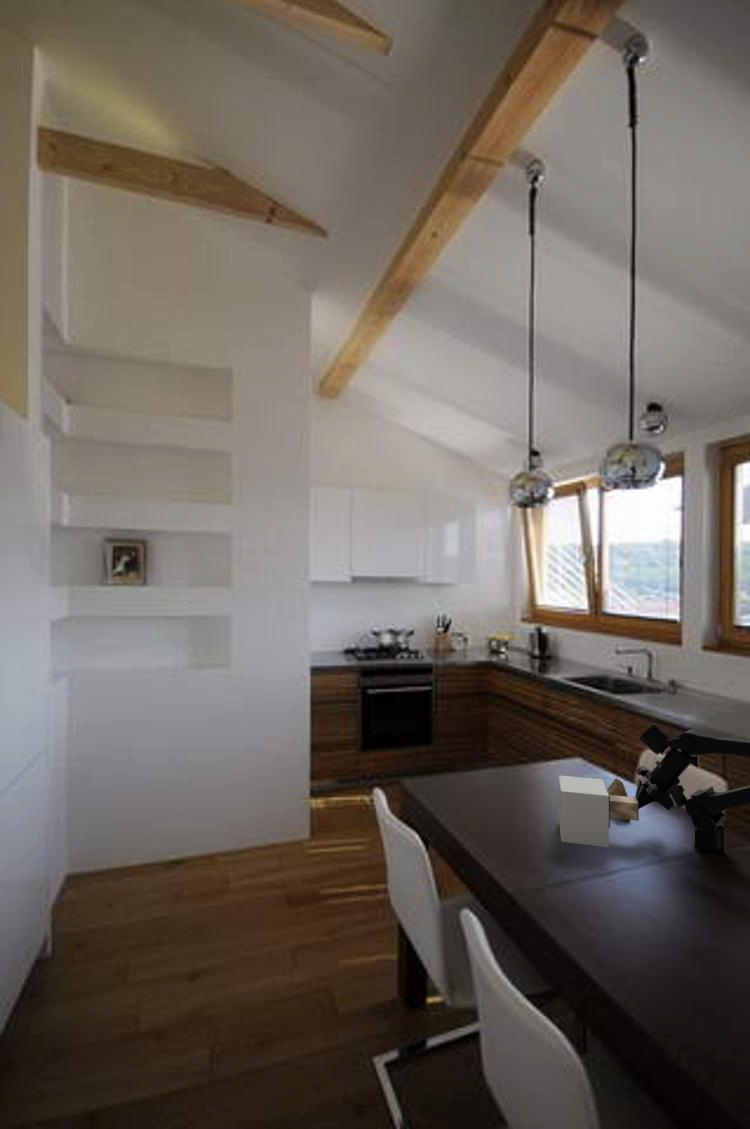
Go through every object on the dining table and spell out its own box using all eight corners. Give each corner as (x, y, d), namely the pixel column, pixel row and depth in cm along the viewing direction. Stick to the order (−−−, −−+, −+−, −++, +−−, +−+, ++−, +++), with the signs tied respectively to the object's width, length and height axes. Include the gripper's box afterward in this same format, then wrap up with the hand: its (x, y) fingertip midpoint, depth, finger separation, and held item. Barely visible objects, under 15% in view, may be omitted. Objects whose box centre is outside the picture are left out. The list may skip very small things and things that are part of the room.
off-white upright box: (605, 827, 163) (604, 779, 164) (611, 847, 151) (611, 796, 151) (559, 822, 167) (558, 775, 167) (561, 841, 154) (561, 791, 155)
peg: (635, 814, 158) (635, 797, 158) (638, 820, 153) (638, 803, 153) (589, 809, 161) (589, 792, 161) (591, 815, 156) (591, 798, 157)
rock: (641, 816, 166) (636, 799, 175) (622, 792, 167) (618, 776, 176) (609, 833, 169) (605, 816, 178) (590, 809, 170) (588, 793, 179)
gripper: (707, 801, 147) (667, 845, 149) (687, 774, 165) (651, 814, 167) (669, 771, 149) (630, 815, 151) (653, 749, 167) (619, 788, 169)
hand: (634, 808), depth 160 cm, fingers closed
